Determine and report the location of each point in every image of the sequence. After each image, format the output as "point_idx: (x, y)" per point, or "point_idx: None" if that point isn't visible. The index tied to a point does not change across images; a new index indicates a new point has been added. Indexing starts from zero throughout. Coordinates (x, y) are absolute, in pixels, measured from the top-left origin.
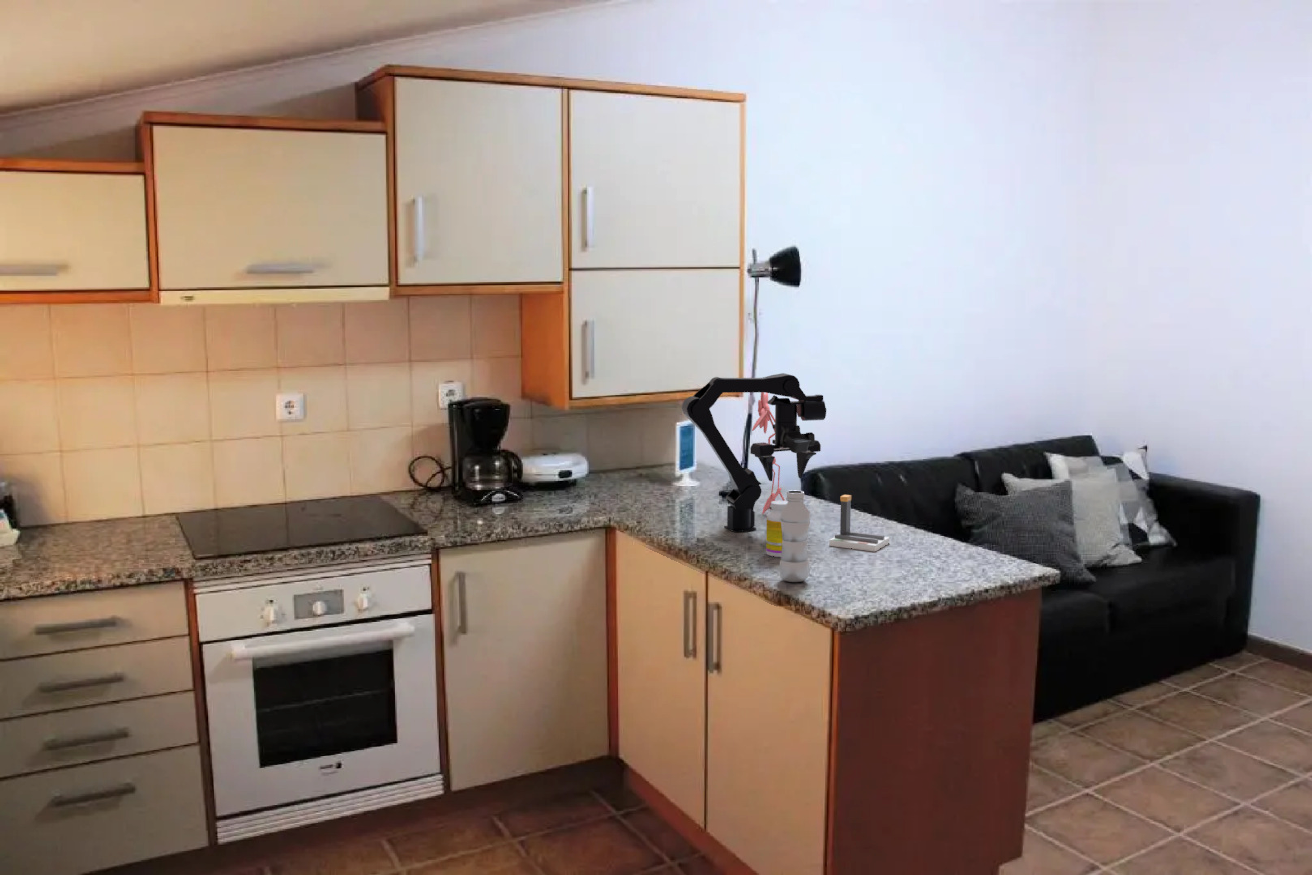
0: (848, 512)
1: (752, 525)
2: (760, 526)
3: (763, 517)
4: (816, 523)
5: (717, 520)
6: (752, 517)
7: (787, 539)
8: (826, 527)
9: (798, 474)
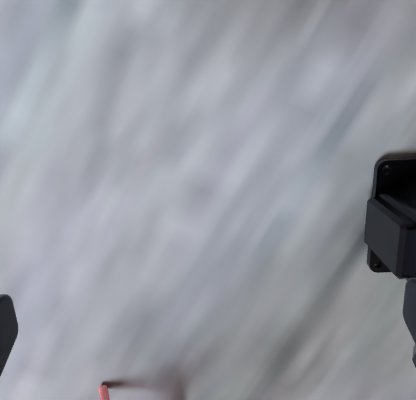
0: None
1: (388, 192)
2: (305, 231)
3: (199, 372)
4: (23, 184)
5: (404, 393)
6: (408, 205)
7: None
8: (9, 82)
9: (2, 357)
